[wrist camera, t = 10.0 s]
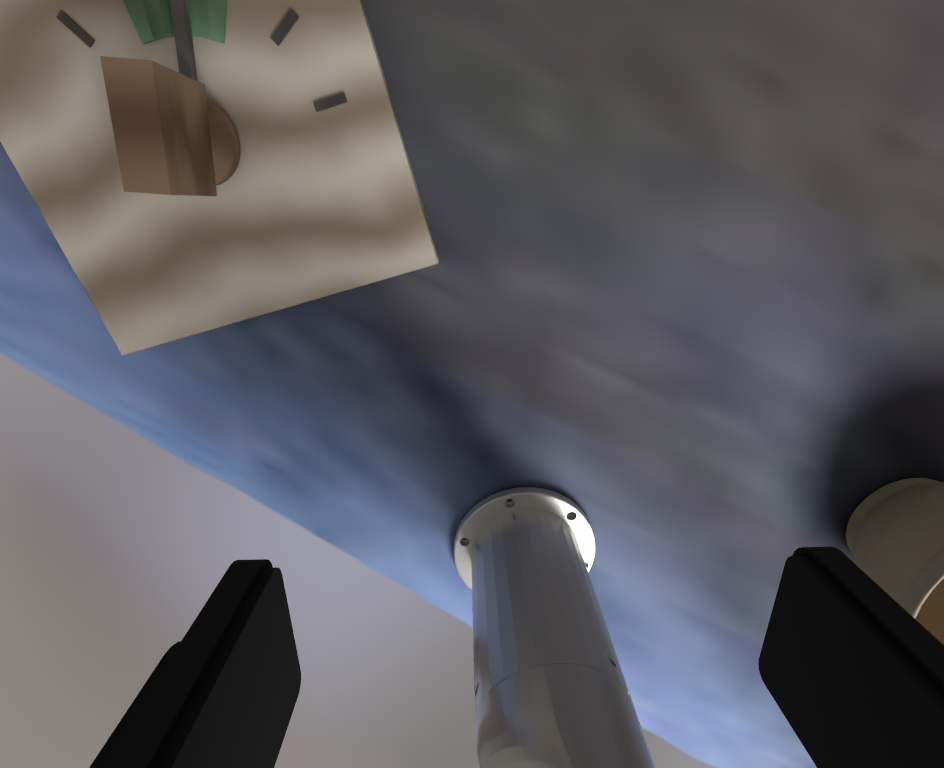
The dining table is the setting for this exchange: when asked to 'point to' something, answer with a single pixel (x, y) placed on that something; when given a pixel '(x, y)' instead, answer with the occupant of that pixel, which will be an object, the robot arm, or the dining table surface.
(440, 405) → the dining table surface
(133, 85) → the dial pointer knob
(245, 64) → the dial plate
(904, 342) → the dining table surface
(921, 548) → the planter bowl
